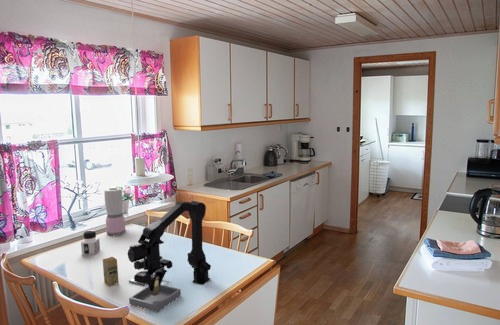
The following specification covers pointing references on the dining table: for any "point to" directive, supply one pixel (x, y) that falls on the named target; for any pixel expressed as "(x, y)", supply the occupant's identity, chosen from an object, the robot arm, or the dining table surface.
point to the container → (90, 243)
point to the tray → (155, 298)
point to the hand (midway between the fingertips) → (155, 289)
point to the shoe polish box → (110, 271)
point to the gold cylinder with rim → (156, 286)
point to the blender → (114, 211)
